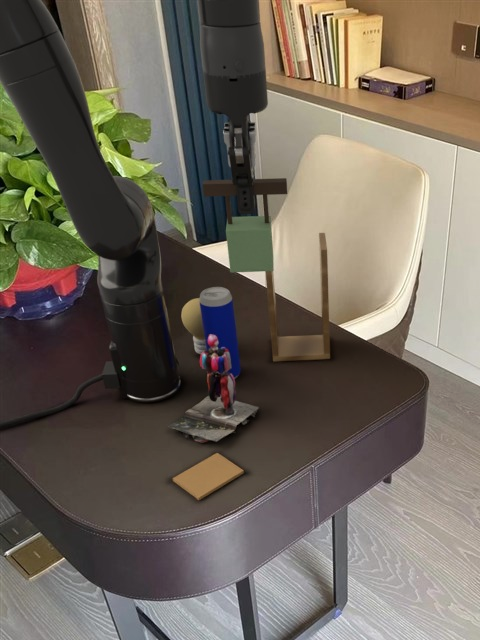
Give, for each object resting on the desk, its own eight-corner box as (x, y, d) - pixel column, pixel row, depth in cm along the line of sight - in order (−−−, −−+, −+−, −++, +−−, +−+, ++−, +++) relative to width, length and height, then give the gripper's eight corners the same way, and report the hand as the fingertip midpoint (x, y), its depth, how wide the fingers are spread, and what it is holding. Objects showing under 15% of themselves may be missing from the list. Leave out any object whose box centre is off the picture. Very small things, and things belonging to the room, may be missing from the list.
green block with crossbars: (212, 273, 100) (201, 188, 93) (214, 258, 104) (204, 176, 97) (291, 270, 101) (286, 186, 94) (290, 255, 105) (286, 173, 98)
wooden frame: (273, 361, 126) (263, 251, 114) (273, 341, 132) (264, 234, 119) (330, 359, 127) (327, 249, 114) (328, 339, 132) (324, 232, 119)
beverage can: (244, 367, 125) (234, 286, 115) (237, 383, 121) (227, 301, 111) (214, 365, 125) (203, 285, 116) (207, 382, 121) (194, 300, 112)
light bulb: (231, 348, 130) (224, 297, 123) (207, 364, 126) (199, 312, 119) (204, 339, 132) (196, 288, 126) (180, 354, 128) (171, 303, 122)
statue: (212, 404, 118) (205, 317, 110) (259, 419, 115) (256, 330, 107) (167, 432, 110) (157, 341, 102) (217, 449, 107) (210, 356, 98)
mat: (199, 500, 98) (198, 497, 98) (172, 481, 102) (172, 478, 101) (244, 473, 103) (243, 470, 103) (217, 455, 106) (217, 452, 106)
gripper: (206, 55, 92) (221, 193, 103) (198, 79, 81) (216, 230, 92) (265, 54, 92) (274, 192, 103) (265, 78, 82) (275, 228, 93)
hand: (246, 209), depth 98 cm, fingers closed on green block with crossbars
